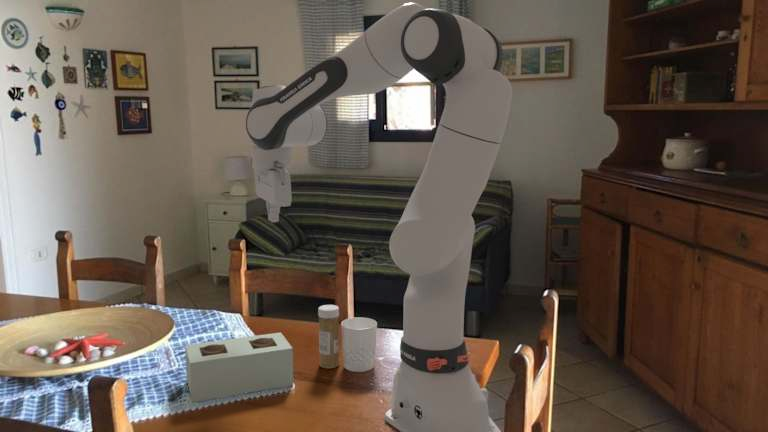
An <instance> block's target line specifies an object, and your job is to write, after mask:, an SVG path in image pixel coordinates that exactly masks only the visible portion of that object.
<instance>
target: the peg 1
mask: <svg viewBox="0 0 768 432" xmlns="http://www.w3.org/2000/svg"><path fill="white" fill-rule="evenodd" d="M223 353H224V346H223V345H219V344H213V345H208V346H205V347H204V348H203V356H209V355H216V354H223Z"/></svg>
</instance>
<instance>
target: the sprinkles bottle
mask: <svg viewBox="0 0 768 432" xmlns="http://www.w3.org/2000/svg"><path fill="white" fill-rule="evenodd" d="M317 309H318V310H317V315H318V352H319V361H318V365H319V367H321V368H323V369H334V368H338V367H339V365H340V361H339V356H340V352H339V351H340V344H339V333H340V332H339V316H340V308H339V306H338V305H335V304H323V305H320V306H319V307H318V308H317Z"/></svg>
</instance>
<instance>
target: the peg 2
mask: <svg viewBox="0 0 768 432" xmlns="http://www.w3.org/2000/svg"><path fill="white" fill-rule="evenodd" d="M272 346H273V340H272V339H270V338H258V339H255V340H254V341H253V349H258V348H265V347H272Z"/></svg>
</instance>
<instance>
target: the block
mask: <svg viewBox="0 0 768 432" xmlns="http://www.w3.org/2000/svg"><path fill="white" fill-rule="evenodd" d="M258 338H270V339H272V340H273V346H272V347H265V348H258V349H253V341H254V340H255V339H258ZM213 344H219V345H223V346H224V353H223V354H216V355H209V356H203V348H204V347H205V346H208V345H213ZM184 349H185V350H184V351H185V370H186V371H185V372H186V373H185V374H186V384H187V383H188V385H187V388H188V387H189V389H188V392H189V391H190V393H189V396H190V395H191V397H190V400H191V403H196V402H202V401H208V400H213V399H214V398H215V399H219V398H220V397H221V398H225V396H227V397H231V396H230V395H233V396H236V395H235V394H239V395H243V394H242V393H245V394H247V393H246V392H250V393H255V392H254V391H256V392H261V391H267V390H274V389H279V388H284V387H291V386H294V353H293V352H294V351H293V349H294V347H292V345H291V344H290V343H289V341H288V339H286V337H285V335H283V333H282V332H281V331H280V332H274V333H266V334H258V335H251V336H244V337H243V336H242V337H237V338H229V339H228V338H227V339H219V340H211V341H206V342H198V343H192V344H185V345H184ZM260 390H261V391H260ZM221 398H220V399H221ZM215 399H214V400H215Z"/></svg>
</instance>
